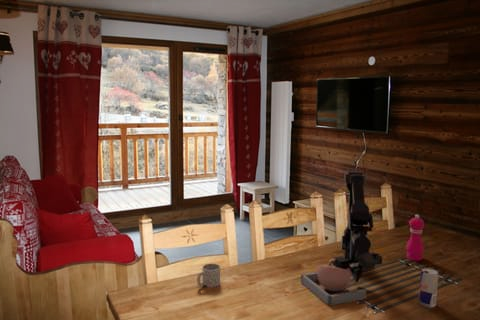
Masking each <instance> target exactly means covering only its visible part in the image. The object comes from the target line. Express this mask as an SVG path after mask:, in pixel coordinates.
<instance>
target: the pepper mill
mask: <svg viewBox="0 0 480 320" xmlns="http://www.w3.org/2000/svg"><path fill="white" fill-rule="evenodd" d="M409 226H410V228H409V232H410V238H409V240H408V241H407V243H406V246H405V249H406V251H407V253H406V258H407V259H408V260H411V261H415V262H419V261H421V260H422V259H423V255H422V254H423V253H424V252H425V249H424V244H423V242H422V238H421V237H422V234H423V228H424V227H425V222H424V220H423V219H422V218H420V215H419V214H415V217H412V218H410V220H409Z"/></svg>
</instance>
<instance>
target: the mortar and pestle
mask: <svg viewBox="0 0 480 320" xmlns="http://www.w3.org/2000/svg"><path fill="white" fill-rule="evenodd" d="M333 258H334V257H333ZM333 258H332V259H329V260H328V263H327V265H318V267H317V270H316V272H317V277H318V280H319V281H318V282H319V284H320V286H322V287H323V288H324V289H326V290H327V291H330V292H340V291H343V290H344V289H346V288H347V287H348V285H349V283H350V282H351V277H352V273H351V271H350V270H349V269H341V268H337V267H335V266H332V265H333V264H332V263H333V262H335V260H336V259H335V258H334V259H333Z"/></svg>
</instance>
